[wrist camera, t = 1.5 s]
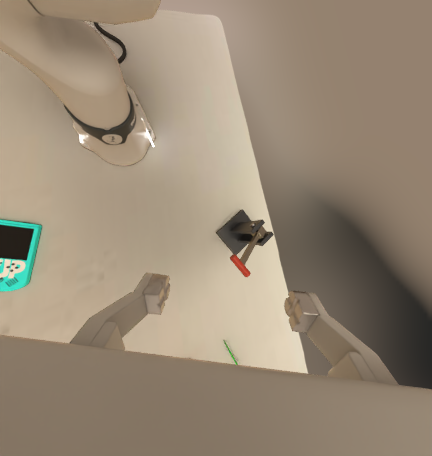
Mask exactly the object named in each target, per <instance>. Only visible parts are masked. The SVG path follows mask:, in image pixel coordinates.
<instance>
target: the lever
mask: <svg viewBox="0 0 432 456" xmlns="http://www.w3.org/2000/svg"><path fill="white" fill-rule="evenodd" d="M265 233H266V230H265V229H264V228H263V226H261V227H260V228H259V229H258V230H257V231H256V232H255V233H254V234H251V235H252V236H253V238H252V240H251V242H250V243H249V245H248V247H247V248H246V250H245V252H244V254H243V255H242V257H241V259H239V258H238V257H237V256H236V255H235V254H233V255H232V256H231V257H230V259H231V260H232V262H233V263H234V264H235V265H236V266H237V268H238V269H239V270H240V271H241V272H242V274H243V275H244V276H245V277H248V276H249V275H250V272H249V270H248V269H247V268H246V267H245V263H246V261H247V259H248V258H249V256H250V254H251V252H252V250H253V248H254V246H255V245H256V243H257V241H258V239H261V238H263V237H264V235H265Z"/></svg>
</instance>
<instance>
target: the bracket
mask: <svg viewBox="0 0 432 456" xmlns="http://www.w3.org/2000/svg"><path fill="white" fill-rule="evenodd" d="M264 223H265V222H264V221H263V220H257V221H251V220H250V219H249V217H248V216H247V215H246V213H245V212H244V211H243V210H241V211H240V212H239V213H237V214H236V215H235V216H234V217H233V218H232V219H231V220H230V221H229V222H227V223H226V224H225V225H224V226H223V227H222V228H221V229H220V230H219V231H218V232H216V233H217V234H218V236H219V237H220V238H221V239H222V240H223V242H224V243H225V244H226V245H227V247H228V248H229V249H230V250H231V251H232V253H233V254H235V255H237V254H238V253H239V252H240V251H241V250H242V249H243V248H244V247H245V246H246V245H247V244H249V243H250V242H251V240H252V238H253V236H252V235H251V234H254V233H255V232H256V231H257V230H258V229H259V228H260V227H261V226H262V225H263V224H264ZM273 235H274V234H273V233H272V232H266V233H265V235H264V237H263V238H261V239H258V241H257V243H256V245H260V246H263V245H264V244H265V243H266V242H267V241H268V240H269V239H270V238H271V237H272V236H273Z"/></svg>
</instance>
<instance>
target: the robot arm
mask: <svg viewBox="0 0 432 456" xmlns="http://www.w3.org/2000/svg"><path fill="white" fill-rule="evenodd" d="M160 3H161V0H0V49H1V50H2V51H4V52H5V53H7V54H8V55H10V56H11V57H13V58H14V59H15V60H17V61H18V62H20V63H21V64H23V65H24V66H25V67H27V68H28V69H29V70H31V71H32V72H33V73H34V74H36V75H37V76H38V77H39V78H40V79H41V80H42V81H43V82H44V83H45V84H46V85H47V86H48V87H49V88H50V89H51V90H52V91H53V92H54V93H55V95H56V96H57V97H58V98H59V99H60V100H61V101H62V102H63V104H64V106H65V108H66V110H67V111H68V113H69V115H70V116H71V118H72V120H73V124H72V125H73V127H74V129H75V130H76V131H77V133H78V134H79V142H80V144H81V145H82V146H83V147H84V148H86V149H89V150H91V151H93V152H95V153H96V154H97V155H98V156H99V157H101V158H102V159H103V160H105V161H107V162H109V163H111V164H114V165H120V166H127V165H132V164H135V163H137V162H138V161H140V160H141V159H142V158H143V157H144V156H145V154H146V152H147V150H148V147H149V146H150V145H151V144H152V146H153V147H154V144H153V142H154V141H155V139H156V138H155V135H154V132H153V130H152V128H151V126H150V124H149V122H148V120H147V118H146V116H145V114H144V111H143V109H142V107H141V105H140V103H139V101H138V99H137V97H136V95H135V93H134V91H133V89H132V88H130V87H128V86H126V85H125V82H124V79H123V76H122V72H121V69H120V66H119V64H120V63H121V62H122V61H123V60H124V58H125V56H126V48H125V46H124V44H123V43H122V42H121V41H120V40H119V39H118V38H116V37H115V36H113V35H111V34H109V33H108V32H106V31H104V30H103V29H102V28H101V27H100V26H99V25H98V23H105V24H113V25H116V24H123V23H130V22H136V21H141V20H146V19H151V18H153V17H154V15H155V14H156V12H157V10H158V8H159V5H160ZM84 21H90V22H94V24H95V26H96V27H97V29H98V30H99V31H100V32H102V33H103V34H104V35H106V36H108V37H109V38H111V39H113V40H115V41H116V42H118V43H119V44H120V45H121V46H122V48H123V54H122V56H121V57H120V58H119V59H118V60H117V58H116V57H115V55H114V53H113V52H112V50H111V49H110V47H109V46H108V45H107V43H106V42H105V41H104V40H103V38H102V37H101V36H100V35H99V34H98V33H97V32H96V31H95V30H94V29H93V28H92V27H91V26H89V25H88V24H87V23H85V22H84ZM97 22H98V23H97ZM148 132H150V134H149V133H148ZM169 280H170V278H169V276H167V275H160V274H153V273H146V274H145V275H144V276H143V278H142V279H141V281H140V282H139V284H138V286H137V287H136V289H135V290H134V292H133V293H132V292H131V293H129V294H127V295H126V296H124V297H123V298H121V299H119V300H118V301H116V302H114V303H113V304H111V305H110V306H108V307H106V308H105V309H103V310H102V311H100V312H98V313H97V314H95V315H94V316H92V317H90V318H89V319H88V320H87V322H86V323H85V324H84V326H83V327H82V328H81V329H80V331H79V332H78V333H77V334H76V336H75V337H74V338H73V339H72V341H71V342H70V343H61V342H53V341H45V340H37V339H29V338H22V337H14V336H6V335H0V456H432V389H424V388H416V387H408V386H400V385H398V383H397V382H396V381H395V379H394V378H393V376H392V375H391V374H390V372H389V371H388V369H387V368H386V367H385V365H384V364H383V362H382V361H381V359H380V358H379V357H378V355H377V354H376V353H375V352H373V351H372V350H371V349H370V348H368V347H367V346H366V345H365V344H364V343H362V342H361V341H360V340H359V339H358V338H356V337H355V336H354V335H353V334H351V333H350V332H349V331H348V330H347V329H345V328H344V327H343V326H342V325H341V324H339V323H338V322H337V321H336V320H334V319H333V318H332V317H329V315H328V314H327V312H326V310H325V309H324V307H323V305H322V304H321V302H320V301H319V299H318V297H317V295H316V294H314V293H308V292H299V291H290V292H289V294H288V295H289V297H288V298H286V300H285V305H284V307H285V311H286V314H287V315H288V316H289V317H290V318H289V323H290V326H291V329H292V331H295V332H302V333H306V335H307V336H308V337H309V338H310V339H311V341H312V342H313V343H314V344H315V345H316V347H317V348H318V349H319V350H320V351H321V353H322V354H323V355H324V356H325V357H326V359H327V360H328V361H329V362H330V363H331V365H332V366H333V368H332V369H331V370H330V371H329V372H328V376H321V375H312V374H306V373H298V372H290V371H282V370H274V369H266V368H258V367H251V366H243V365H235V364H227V363H219V362H211V361H203V360H195V359H187V358H180V357H172V356H164V355H156V354H148V353H140V352H132V351H124V350H125V346H124V343H123V341H122V337H124V336H125V335H126V334H127V333H128V332H129V331H130V330H131V329H132V328H133V327H134V326H135V325H137V324H138V323H139V322H140V321H141V320H142V319H143V318H144V317H145V316H146V315H147V313H149V314H159V315H161V313H162V311H163V308H164V306H165V300H166V299H167V298H168V295H169V292H170V284H169Z"/></svg>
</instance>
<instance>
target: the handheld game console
mask: <svg viewBox="0 0 432 456" xmlns="http://www.w3.org/2000/svg"><path fill="white" fill-rule="evenodd" d="M41 229H42V226H41V225H38V224H31V223H25V222H16V221H8V220H1V219H0V291H13V290H17V289H20V288H22V287H25V286H26V285H27V284H28V283H29V281H30V277H31V273H32V269H33V264H34V260H35V255H36V251H37V246H38V242H39V238H40V233H41Z"/></svg>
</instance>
